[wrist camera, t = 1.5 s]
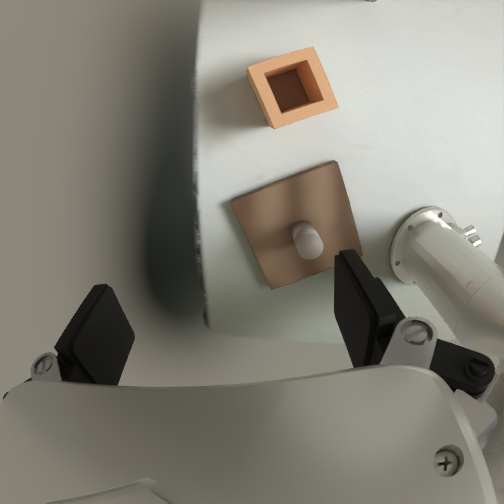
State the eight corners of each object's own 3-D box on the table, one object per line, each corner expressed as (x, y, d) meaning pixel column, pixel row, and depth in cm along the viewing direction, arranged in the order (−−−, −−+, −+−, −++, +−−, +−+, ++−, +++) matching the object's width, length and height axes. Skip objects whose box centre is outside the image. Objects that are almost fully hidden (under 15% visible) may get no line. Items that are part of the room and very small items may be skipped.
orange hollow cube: (300, 57, 25) (313, 46, 20) (322, 108, 28) (338, 107, 23) (246, 75, 26) (247, 66, 21) (269, 126, 29) (274, 129, 24)
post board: (334, 160, 31) (351, 170, 26) (359, 251, 36) (375, 273, 31) (231, 199, 33) (228, 217, 28) (270, 284, 39) (274, 311, 34)
